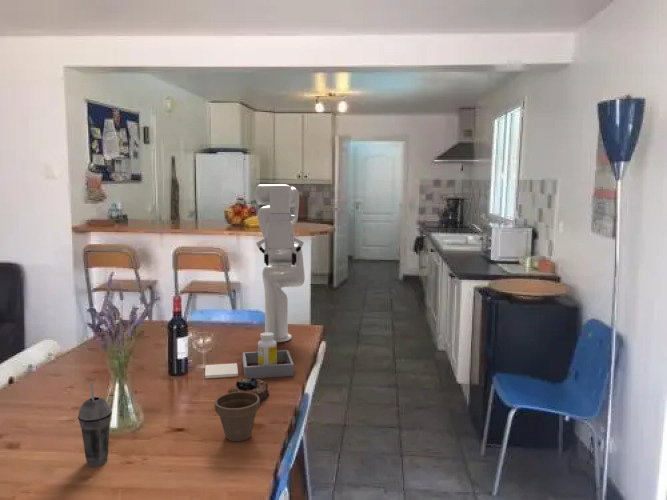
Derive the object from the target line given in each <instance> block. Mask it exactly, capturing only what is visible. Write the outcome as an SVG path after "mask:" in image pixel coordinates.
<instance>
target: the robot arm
mask: <svg viewBox="0 0 667 500" xmlns="http://www.w3.org/2000/svg"><path fill="white" fill-rule="evenodd" d="M254 198H255V202H256V203H257V205H260V206H262V207H260V208H259V209H258V211H257V221H258V227H259V229H260V232H261V234H262V236H263V239H260V240H259V241H257V242H256V246H257V248H258V249H259V251H260V252H261V253H262V254H263V263H264V264H265V265H266V266H265V267H264V268H263V269H262V283H263V288H264V290H263V291H264V333H265V332H270V333H273V334H274V337H273V340H275V341H276V343H284V342H287V341H290V340H291V339H292V334H290V333H289V332H288V329H289V327H288V326H289V325H288V318H289V317H288V311H289V310H288V301H289V300H288V299H289V298H288V296H287V294H286V293H285V291H284V290H283V289H282V288H298V287H302V286H303V285H304V283H305V267H304V257H303V256H304V255H303V250H302V247H303V246H304V245H305V244H304V241H302V240H300V239H298V238H296V237H295V235H294V233H295V231H294V225H295V224H296V223H297V222H298V218H299V208H300V207H299V206H300V193H299V191H298V189H297V188H296V187H294V186H291V185H289V184H280V183H279V184H268V183H267V184H258V185H256V188H255V193H254ZM263 244H264V247H263V246H262V245H263Z"/></svg>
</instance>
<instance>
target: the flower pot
mask: <svg viewBox="0 0 667 500" xmlns="http://www.w3.org/2000/svg"><path fill="white" fill-rule="evenodd" d="M260 407H261V403H260V398H259V396H258V395H256V394H254V393H250V392H232V393H228V392H227V393H225V394H222V395H220V396H218V397H217V398H216V399H215V400H214V410H215V412H216V414H217V415H219V418H220V422H221V426H222V430H223V432H224V436H225V438H226V439H227V440H229V441H230V442H231V441H232V442H243V441H246V440H248V439H249V438H251V436H252V433H253V429H254V424H255V420H256V415H257V412H258V411H259V410H260Z"/></svg>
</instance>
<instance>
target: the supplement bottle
mask: <svg viewBox="0 0 667 500" xmlns="http://www.w3.org/2000/svg"><path fill="white" fill-rule="evenodd" d="M273 337H274V334H273V333H270V332H265V331H264V332H262V333H261V332H260V340H259V341H258V342H257V352H258V363H257V366H262V365H278V362H277V351H278V349H277V348H278V347H277V344H278V342H276V341H275V340H273Z"/></svg>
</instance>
